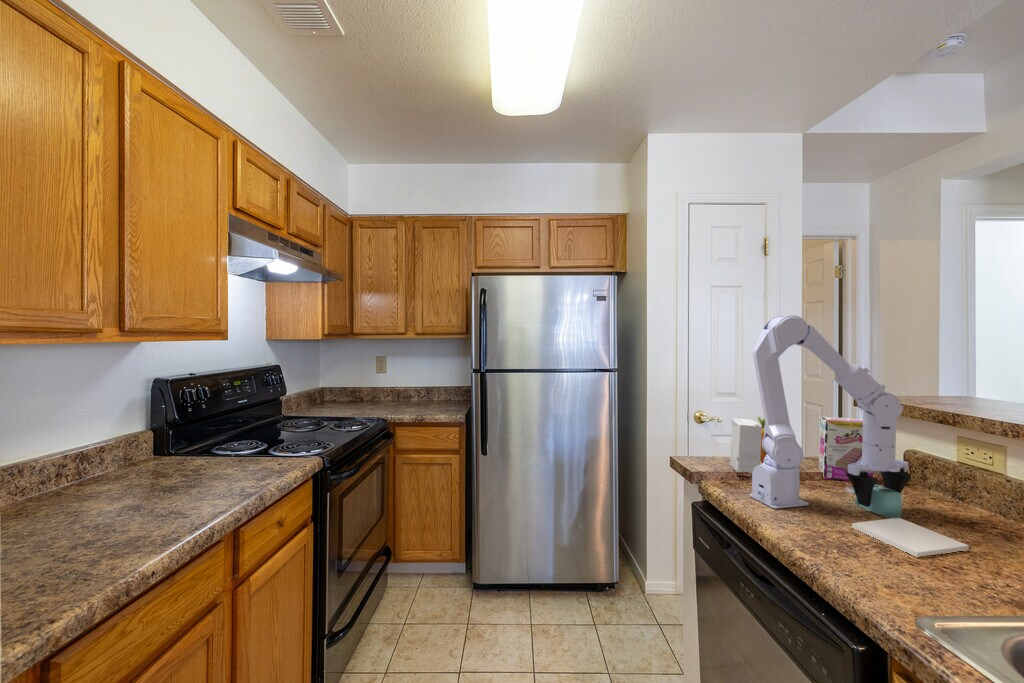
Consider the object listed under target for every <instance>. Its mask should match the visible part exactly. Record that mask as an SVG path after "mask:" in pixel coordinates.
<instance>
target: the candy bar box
mask: <svg viewBox="0 0 1024 683" xmlns="http://www.w3.org/2000/svg"><path fill="white" fill-rule="evenodd" d="M819 421H820V423H819V424H820V425H819V427H820V428H819V451H818V453H819V456H818V470H819V469H820V470H821V471H822V472H823V477H824V478H823V477H822V478H823V479H824V480H835V481H844V482H845V481H846V482H851V481H850V480H849V478H848V477H847V475H846V471H847V470H848V464H853V463H856V462H858V461H861V460H862V442H863V418H853V417H852V418H849V417H846V418H845V417H838V416H837V417H836V416H835V417H834V416H820V420H819ZM868 475H870V477H872V478H874V473H868Z"/></svg>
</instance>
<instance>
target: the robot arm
mask: <svg viewBox="0 0 1024 683" xmlns="http://www.w3.org/2000/svg"><path fill="white" fill-rule="evenodd" d="M794 345H795V346H799V347H803V348H806V349H808V350H809V351H810V352H811V353H812V354H813V355H815V356H816V357H817V358H818V359H819V360H820V361H821V362H823V364H825V365H826V366H827V367H829V369H831V370H832V371H833V372H834V381H835V382H836V383H837V384H838V385H839V386H840V387H841V388H842V389H843V390H844V391H845V392H846V393H848V395H849V396H850V397H852V399H853V400H855V401H856V403H857V406H858V408H859V409H860V410H862V411H863V412H862V419H863V442H862V460H861V461H858V462H856V463H853V464H848V470H847V471H846V475H847V477H848V478H849V480H850V481H849V482H850V483H851V485H852V486H853V488H854V490H855V493H856V494H855V498H856V497H857V500H858V504H861V505H863V506H866V507H870V504H871V496H872V490H873V487H874V485H875V484H876V483H877V481H878V479H877V478H875V477H873V478H872V477H870V475H868V473H873V474H874V473H880V476H881V480H882V482H883V484H882V485H883V487H885V488H888V489H891V490H894V491H897V492H899V493H901V494H902V492H903V489H904V488H905V486H906V485H907V483H908V482H909V481H911V479H912V474H911V473H909V472H908V471H909V465H910V464H909V462H908V461H905V460H902V459H896V449H897V447H896V444H897V439H896V438H897V418H898V417H899V416H900V415H901V414H902V413H903V411H904V406H903V405H902V404H901V400H900V399H899V398H898V397H897V396H896V395H895V394H893V393H889V392H887V391H886V390H885V389H886V388H887V387H886V386H885V385H884V384H883V383H879V382H877V381H876V380H875V379H874V377H872V376H871V375H870V373H869V372H870V370H869V369H868V368H867V367H866V366H860V365H859V364H855V363H854V364H853V363H848V361H847V360H846V359H845V358H844V357H843V356H842V355H841V354H840V353H839V352H838V351H837V350H836V348H834V347H833V346H832V345H831V344H830V343H829V341H827V340H826V339H825V337H823V335H821V333H819V331H817V329H816V328H815V327H814V326H813V325H811V324H809V323H807V321H806V320H805V319H804V318H803V317H801V316H799V315H794V314H791V315H789V314H788V315H785V316H784V315H780V316H779V315H778V316H774V317H772V318H771V319H769V321H767V322H766V323H765V324H764V325H763V326H762V328H761V332H760V334H759V336H758V339H757V341H756V343H755V345H754V347H753V350H752V356H753V363H754V368H755V372H756V373H755V374H756V379H757V384H758V391H759V395H760V400H761V408H762V412H763V417H764V418H763V419H765V426H764V438H763V440H762V447H763V449H764V451H765V452H766V453H767V455H766V456H765V458H764V462H763V463H762V462H761V463H760V465H758V466H756V467H755V468H754V469H753V472H752V477H751V480H752V481H751V493H749V497H751V498H753V499H754V500H757V501H758V502H760V503H762V504H764V505H766V506H768V507H770V508H772V509H785V508H796V507H804V506H805V507H806V506H809V504H810V503H809V502H807V501H805V500H803V499H800V468H801V467H800V466H801V465H800V464H801V463H802V461H803V459H804V451H803V448H802V446H800V444H799V443H798V441H797V439H796V434H795V432H794V429H793V428H792V425H791V422H790V417H789V411H788V405H787V401H786V395H785V390H784V385H783V384H784V383H783V378H782V371H781V367H780V362H779V358H780V357H781V355H783V354H784V353H785V352H786V350H788V348H790V347H792V346H794Z"/></svg>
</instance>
